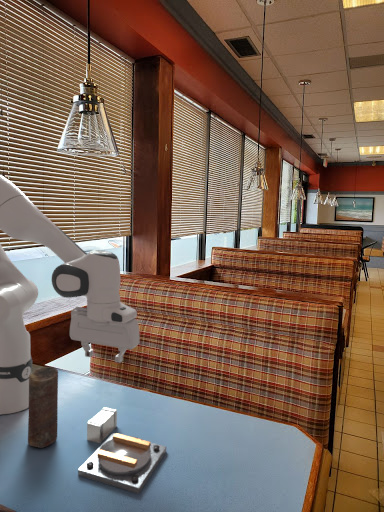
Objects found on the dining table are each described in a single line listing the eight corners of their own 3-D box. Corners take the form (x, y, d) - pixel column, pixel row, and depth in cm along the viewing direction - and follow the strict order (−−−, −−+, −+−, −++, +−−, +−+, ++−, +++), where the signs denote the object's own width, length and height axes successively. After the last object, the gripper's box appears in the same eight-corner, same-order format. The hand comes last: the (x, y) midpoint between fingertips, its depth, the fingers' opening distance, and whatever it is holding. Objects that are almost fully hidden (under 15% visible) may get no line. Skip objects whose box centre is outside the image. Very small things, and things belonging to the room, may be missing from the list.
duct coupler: (86, 439, 104) (86, 422, 104) (104, 422, 113) (104, 406, 112) (100, 443, 103) (100, 425, 102) (117, 426, 111) (117, 409, 111)
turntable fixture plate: (78, 475, 91) (78, 458, 90) (112, 437, 106) (113, 423, 105) (138, 493, 86) (138, 476, 85) (166, 451, 101) (166, 437, 100)
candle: (63, 438, 105) (63, 369, 102) (45, 454, 98) (44, 380, 95) (41, 432, 107) (40, 364, 104) (21, 447, 100) (20, 374, 98)
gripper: (64, 308, 104) (64, 357, 105) (131, 317, 97) (130, 369, 99) (78, 303, 110) (78, 349, 111) (142, 311, 103) (141, 360, 105)
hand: (103, 358), depth 105 cm, fingers open, 8 cm apart
